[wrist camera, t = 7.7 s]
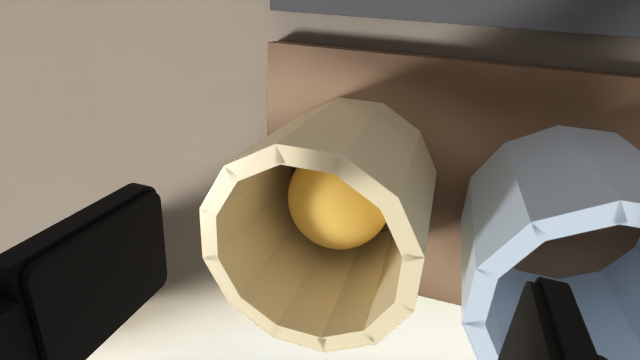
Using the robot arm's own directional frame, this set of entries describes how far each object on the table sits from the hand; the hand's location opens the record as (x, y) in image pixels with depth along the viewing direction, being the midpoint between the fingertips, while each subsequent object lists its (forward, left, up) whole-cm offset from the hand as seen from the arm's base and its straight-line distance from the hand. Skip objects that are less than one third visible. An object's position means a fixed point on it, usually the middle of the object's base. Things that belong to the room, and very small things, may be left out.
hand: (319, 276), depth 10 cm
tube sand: (+2, -2, -12) cm, 12 cm away
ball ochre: (+2, -2, -9) cm, 10 cm away
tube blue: (+2, +8, -12) cm, 15 cm away
